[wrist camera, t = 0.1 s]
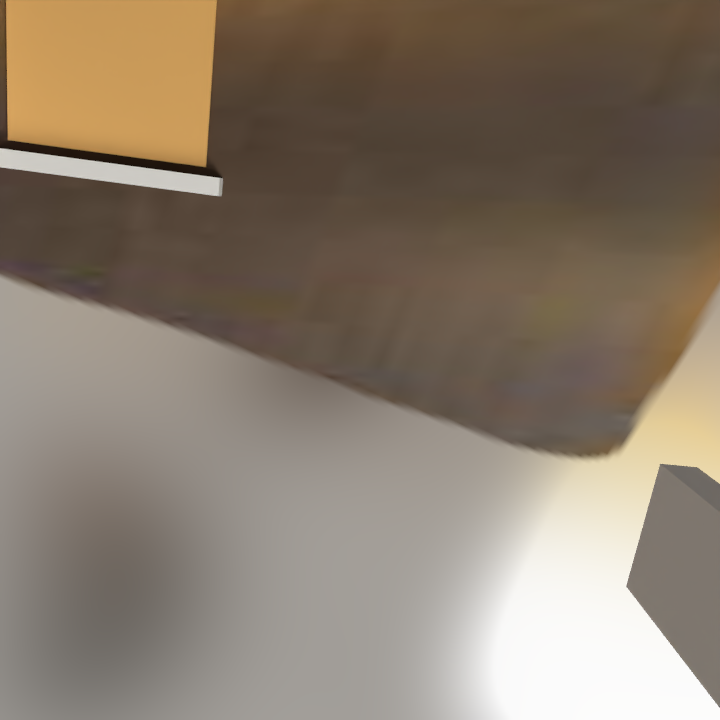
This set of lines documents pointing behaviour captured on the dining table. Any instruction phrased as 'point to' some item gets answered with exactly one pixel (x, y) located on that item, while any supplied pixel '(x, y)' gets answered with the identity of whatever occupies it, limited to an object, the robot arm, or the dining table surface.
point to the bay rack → (112, 87)
